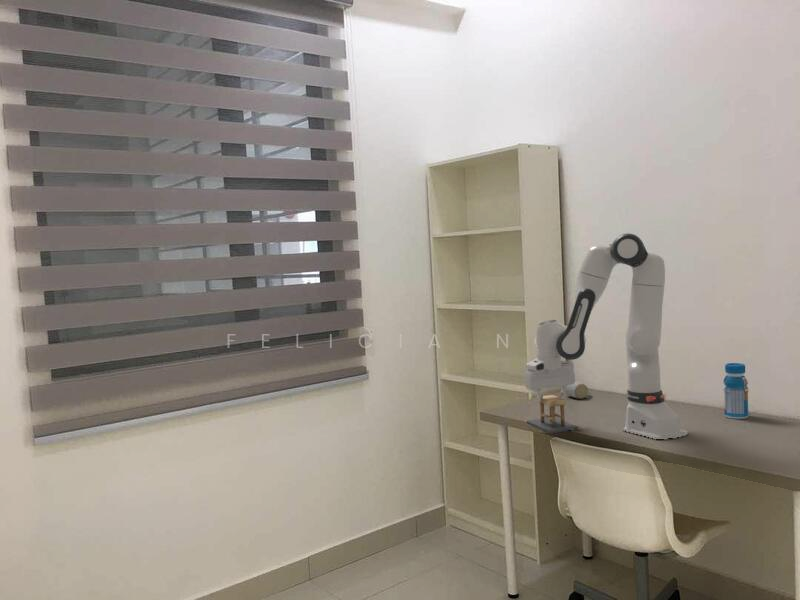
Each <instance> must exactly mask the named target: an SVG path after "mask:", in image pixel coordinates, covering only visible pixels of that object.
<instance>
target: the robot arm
mask: <svg viewBox="0 0 800 600" xmlns="http://www.w3.org/2000/svg"><path fill="white" fill-rule="evenodd" d="M618 264H622V265H627V266H629V267H631V270H632V279H631V287H630V296H629V297H630V298H629V299H630V300H629V309H628V310H629V311H628V312H629V313H628V327H627V328H626V332H625V345H626V361H627V384H628V388H627V392H626V396H627V400H628V404H627V407H626V409H625V410H626V411H625V412H626V413H625V425H624V427H623V430H624V431H623V432H625V431H626V432H625V433H629V432H630V433H629V434H633V433H634V435H636V434H638V435H637V436H640V435H642V436H641V437H644V436H646V437H645V438H648V437H649V438H648V439H652V438H653V439H652V440H656V439H664V440H669V439H668V438H673V439H678V438H677V437H679V438H683V437H686V436H687V435H688V431H687V430H685V429H683V428H681V425H680V419H679V416H678V415H677V412H674V411H673V410H672V408H671V407H670V406H669V405H668V404H667V402H666V399H667V394H664V393H663V390H662V389H661V367H660V356H659V347H660V345H661V336H662V321H663V303H664V302H663V301H664V293H665V281H666V269H665V268H666V267H665V266H666V265H665V261H664V259H663V258H662V257H661V256H660V255H658V254H656V253H649V252H648V250H647V248H646V246H645V245H644V243H643V240H642V239H641V238H640V237H639V236H638V235H637V234H633V233H630V232H626V233H622V234H619V235H618V236H617V237H616V238H614V240H613V241H612V242H611V243H610V244H609V245H607V246H604V245H593V246H591V247H590V248H589V249H588V250H587V252H586V254H585V256H584V258H583V260H582V262H581V265H580V267H579V270H578V274H577V277H576V282H575V292H574V293H575V295H574V297H575V298H574V304H573V310H572V311H571V315H570V318H569V321H568V324H567V325H565V324H563V323H561V322H559V321H558V320H556V319H549V320H545V321H542V322H540V323H539V324H538V325H537V327H536V333H535V334H536V336H535V338H536V346H537V353H536V358H535V359H533V360H531V361H528V362H527V363H526V364H525V368H526V369H527V370H525V372H524V387H525V388H526V389H527V390H529V391H534V393H535V395H536V396H537V397H536V399H537V401H538V400H539V401H540V400H543V396H544V395H541V393H540V392H541V390H543V389H549V388H556V387H560V388H561V390H560V392H559V391H558V396H559V397H560V398H565V394H566V389H567V385H572V384H574V383H575V380H576V375H575V370H574V363H573V362H572V361H573V360H577V359H579V358H581V357H582V356H583V354H584V352H585V349H586V341H587V340H586V339H587V338H586V335H585V332H586V329H587V326H588V323H589V319H590V316H591V314H592V311H593V310H594V307H595V306H596V305H597V303H598V301H599V300H600V299H601V297H602V295H603V294H604V292H605V289H606V288H607V286H608V283H609V279H610V277H611V274H612V272H613V269H614V268H615V266H617V265H618ZM562 358H563V359H566V360H562ZM682 436H683V437H682Z"/></svg>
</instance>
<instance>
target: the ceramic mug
mask: <svg viewBox="0 0 800 600" xmlns="http://www.w3.org/2000/svg"><path fill="white" fill-rule="evenodd" d="M565 394H566V395H567V396H569V397H572V398H575V399H578V400H582V399H585V398H586V397H591V396H592V393H591V392H589V389H588V386H587V385H586V384H585V383H583V382H581V381H579V380H576V379H575V383H574V384H572V385H567V389H566V391H565Z"/></svg>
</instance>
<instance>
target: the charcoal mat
mask: <svg viewBox="0 0 800 600" xmlns="http://www.w3.org/2000/svg"><path fill="white" fill-rule="evenodd" d="M544 419H545V422H544V423H542V422H541V418H536V419H535V418H534V419H529V420H526V423H527V424H529V425H530V426H533V427H535V428H537V429H540V430H542V431H544V432H546V433H549V434H551V435H552V434H557V433H558V434H559V433H564V432H569V431H568V430H571V431H573V430H572V429H577V430H579V429H580V426H578V425H576V424H572V423H570V422H567V421H565V426H561V418H558V417H556V416H555V424H556V427H552V421H550V419H548V418H546V417H544ZM578 428H579V429H578Z"/></svg>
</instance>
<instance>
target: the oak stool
mask: <svg viewBox="0 0 800 600" xmlns="http://www.w3.org/2000/svg"><path fill="white" fill-rule="evenodd" d="M542 396H543V400H540V401H539V400H537V401H538V403H539V410H540V419H541V422H542V423H544V422H545V419H544V418H548V419H550V421H552V427H556V424H555V417H556V418H558V419H561V426H565V422H566V419H565V406H566V405H567V402H566V401H567V400H566V399H565V398H563V397H558V395H557V396H556V395H554V394H546V395H542ZM545 405H546V406H549V410H548V411H549V414H546V413H545ZM556 407H559V408H560V411H559V412H560V414H558V413H556Z"/></svg>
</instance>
